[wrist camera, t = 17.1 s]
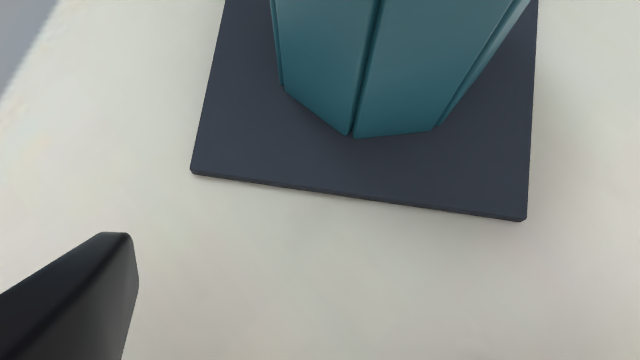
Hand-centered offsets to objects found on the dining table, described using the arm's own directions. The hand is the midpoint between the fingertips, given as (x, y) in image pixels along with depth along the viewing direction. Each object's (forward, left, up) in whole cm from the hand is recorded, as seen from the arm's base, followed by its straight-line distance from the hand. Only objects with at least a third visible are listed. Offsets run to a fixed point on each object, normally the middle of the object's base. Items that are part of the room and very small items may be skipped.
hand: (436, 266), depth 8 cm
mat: (-1, +8, -8) cm, 11 cm away
